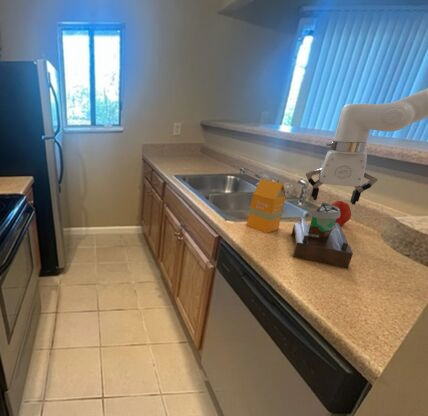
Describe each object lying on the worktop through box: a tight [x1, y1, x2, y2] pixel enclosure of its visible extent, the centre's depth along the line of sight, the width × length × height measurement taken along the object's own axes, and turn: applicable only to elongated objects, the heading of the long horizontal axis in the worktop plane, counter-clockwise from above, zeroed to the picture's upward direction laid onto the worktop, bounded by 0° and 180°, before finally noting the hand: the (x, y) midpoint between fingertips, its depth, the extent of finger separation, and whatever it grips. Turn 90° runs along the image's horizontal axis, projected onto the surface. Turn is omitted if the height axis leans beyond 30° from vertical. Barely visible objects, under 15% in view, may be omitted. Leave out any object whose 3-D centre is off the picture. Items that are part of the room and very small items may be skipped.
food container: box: [308, 201, 340, 240], centre depth 91 cm, size 12×6×10 cm, turn 133°
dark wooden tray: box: [291, 217, 354, 270], centre depth 94 cm, size 14×19×8 cm
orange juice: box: [246, 178, 287, 234], centre depth 109 cm, size 8×9×20 cm
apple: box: [330, 200, 352, 227], centre depth 113 cm, size 8×8×11 cm
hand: (332, 201), depth 88 cm, fingers open, 9 cm apart
